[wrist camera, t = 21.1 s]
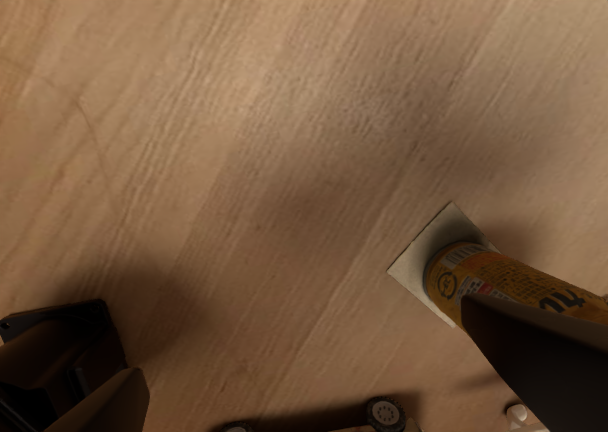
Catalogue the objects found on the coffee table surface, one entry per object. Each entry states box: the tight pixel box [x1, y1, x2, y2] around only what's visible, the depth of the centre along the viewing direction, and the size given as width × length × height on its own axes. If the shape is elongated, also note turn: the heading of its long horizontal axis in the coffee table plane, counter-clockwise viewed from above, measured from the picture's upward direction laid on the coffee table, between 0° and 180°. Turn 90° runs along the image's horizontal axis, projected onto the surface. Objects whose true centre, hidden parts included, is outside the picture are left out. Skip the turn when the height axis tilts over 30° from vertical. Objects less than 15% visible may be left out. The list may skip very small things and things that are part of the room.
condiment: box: [387, 202, 608, 338], centre depth 17 cm, size 7×8×12 cm
